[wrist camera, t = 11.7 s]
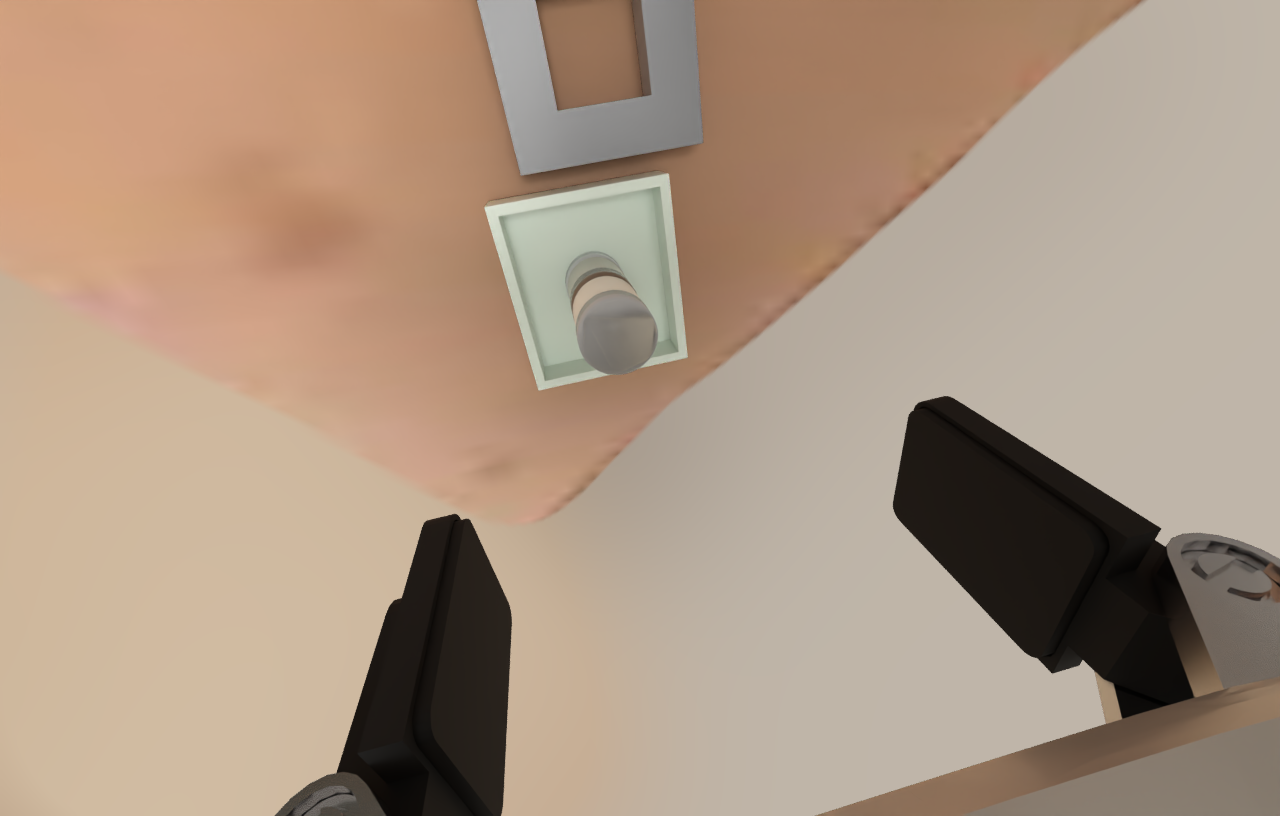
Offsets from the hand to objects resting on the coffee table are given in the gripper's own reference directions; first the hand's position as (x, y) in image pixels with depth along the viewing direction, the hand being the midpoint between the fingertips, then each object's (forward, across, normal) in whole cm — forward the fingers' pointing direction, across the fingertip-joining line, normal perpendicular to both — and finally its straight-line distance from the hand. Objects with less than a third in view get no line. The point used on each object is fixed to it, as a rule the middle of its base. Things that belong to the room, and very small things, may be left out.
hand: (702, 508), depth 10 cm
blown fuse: (+20, 0, 0) cm, 20 cm away
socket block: (+20, -2, -10) cm, 23 cm away
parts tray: (+20, 0, 0) cm, 20 cm away
